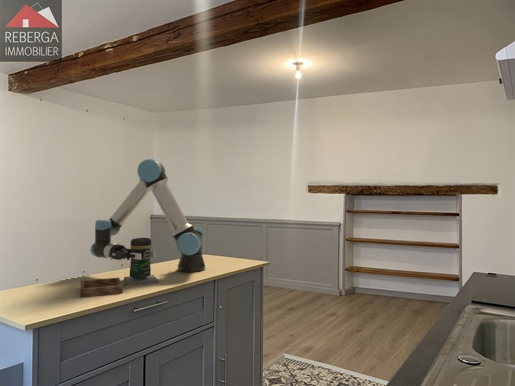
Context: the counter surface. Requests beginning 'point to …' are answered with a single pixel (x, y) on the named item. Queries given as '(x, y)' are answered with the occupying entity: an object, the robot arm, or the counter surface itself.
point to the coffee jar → (141, 266)
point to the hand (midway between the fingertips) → (147, 255)
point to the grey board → (140, 280)
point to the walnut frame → (100, 290)
